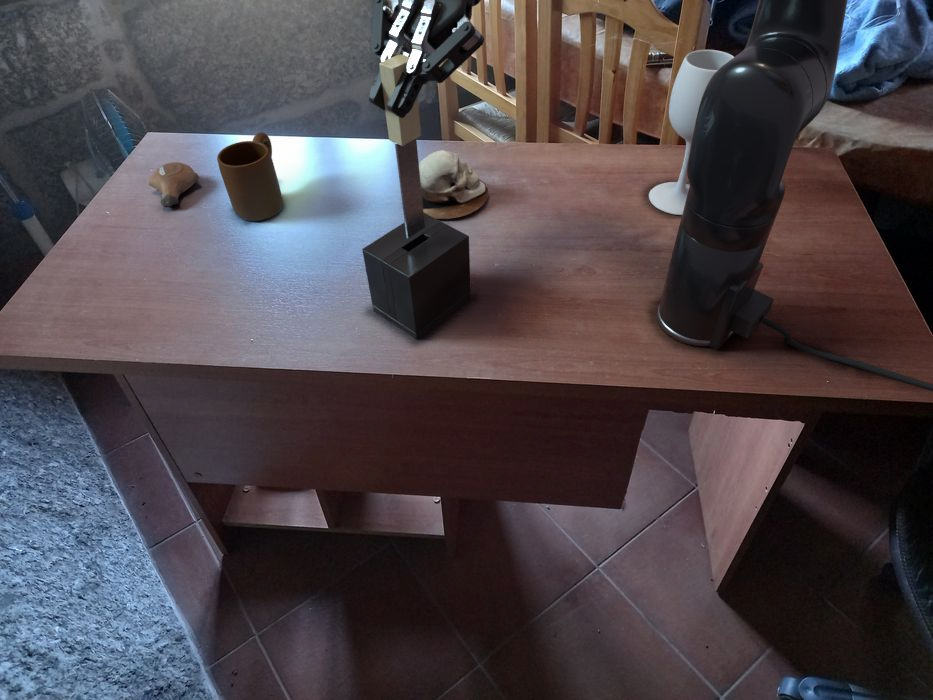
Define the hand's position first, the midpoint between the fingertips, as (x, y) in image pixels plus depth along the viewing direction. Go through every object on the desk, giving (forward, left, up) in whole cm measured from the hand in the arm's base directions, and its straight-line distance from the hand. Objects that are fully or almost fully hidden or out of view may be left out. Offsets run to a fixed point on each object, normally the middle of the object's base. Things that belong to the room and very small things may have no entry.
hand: (386, 109), depth 64 cm
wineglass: (-13, -44, -27) cm, 53 cm away
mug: (+36, -3, -27) cm, 45 cm away
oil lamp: (+49, +5, -27) cm, 56 cm away
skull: (+14, -22, -27) cm, 38 cm away
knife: (0, -2, -16) cm, 16 cm away
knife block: (0, -2, -27) cm, 27 cm away
